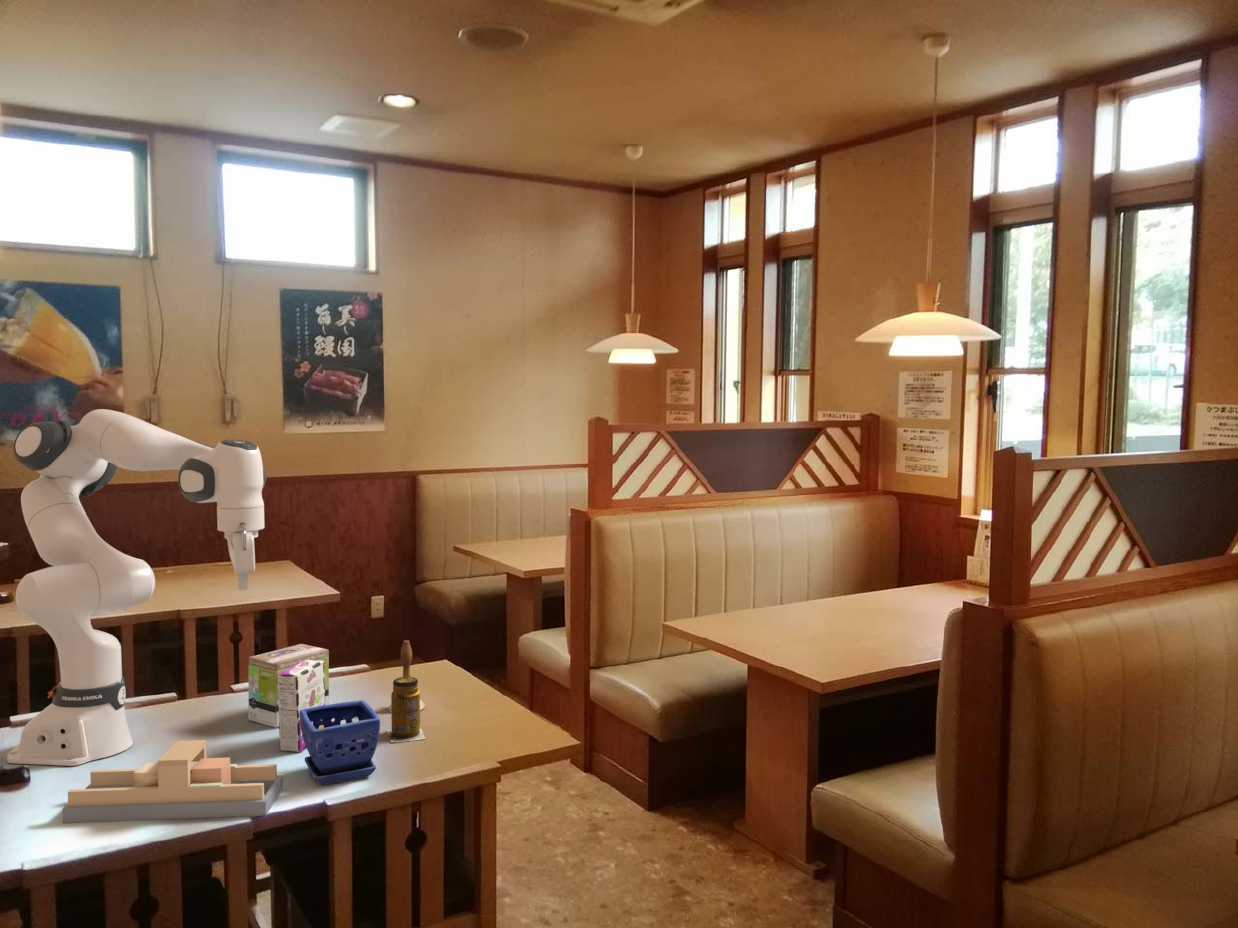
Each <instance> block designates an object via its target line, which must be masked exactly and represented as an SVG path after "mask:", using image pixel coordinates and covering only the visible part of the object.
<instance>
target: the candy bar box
mask: <svg viewBox="0 0 1238 928" xmlns="http://www.w3.org/2000/svg"><path fill="white" fill-rule="evenodd" d="M277 688H278V712H279V727H278V732H279V733H278V734H279V735H278V737H279V738H278V739H279V751H280V752H287V753H288V752H289V753H302V752H303V751H304V750H306V749H307V748H306V745H305V742H304V739H303V735H302V731H301V726H300V715H299V712H300V710H301V709H306V708H312V707H318V706H324V705H325V683H324V661H320V660H303V661H301V662H299V663H298V664H296V665H294V666H292V667H290V668H288V669H286V670H285V671H283V672H281V673H279V674H277ZM321 721H322V720H321ZM311 723H312V724H313V721H311ZM321 728H324V725H320V726H319V729H321Z"/></svg>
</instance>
